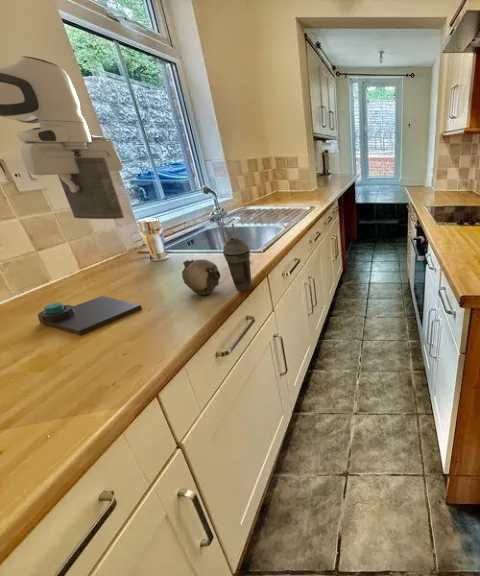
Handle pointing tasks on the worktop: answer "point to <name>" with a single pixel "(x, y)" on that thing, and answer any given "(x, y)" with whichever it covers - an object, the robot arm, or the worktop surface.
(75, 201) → the flask
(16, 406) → the worktop surface
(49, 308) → the tare button
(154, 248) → the chrome pepper mill
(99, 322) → the scale
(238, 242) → the beverage cup
